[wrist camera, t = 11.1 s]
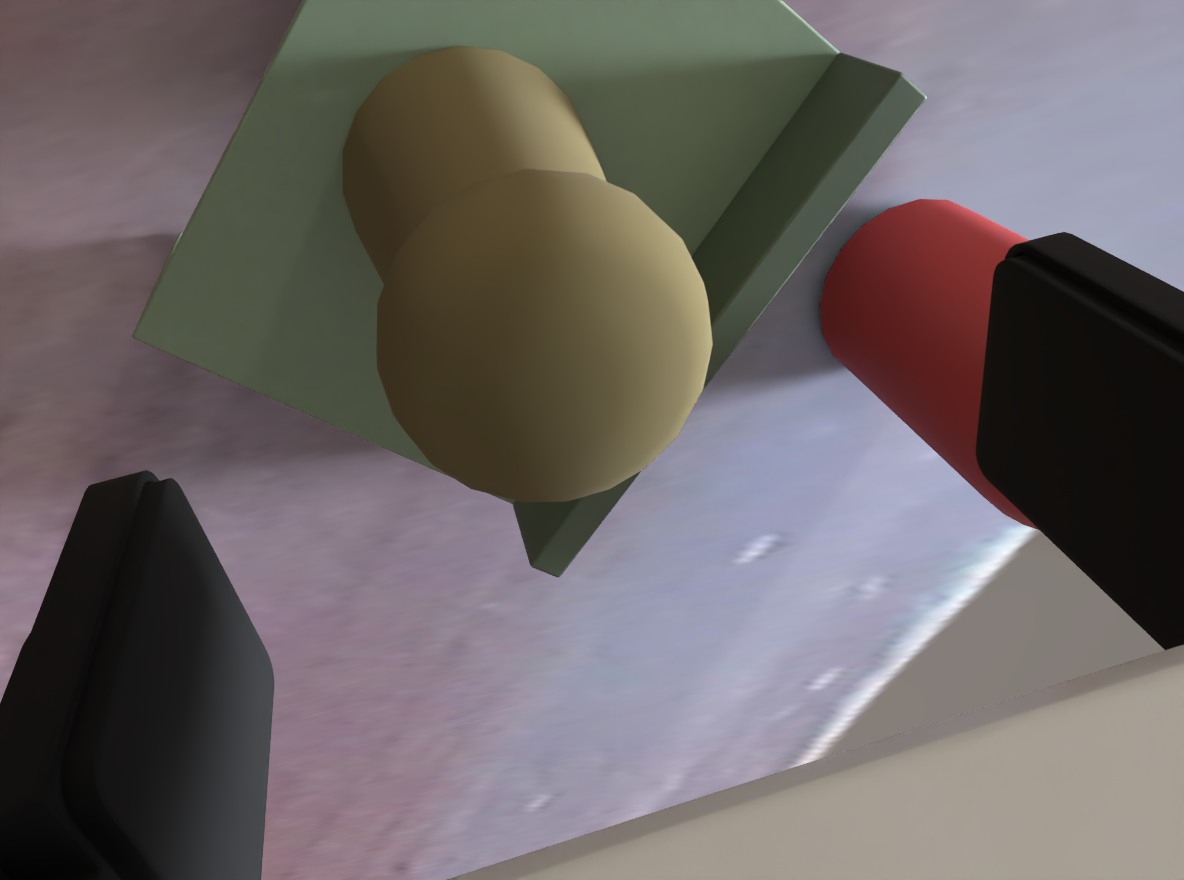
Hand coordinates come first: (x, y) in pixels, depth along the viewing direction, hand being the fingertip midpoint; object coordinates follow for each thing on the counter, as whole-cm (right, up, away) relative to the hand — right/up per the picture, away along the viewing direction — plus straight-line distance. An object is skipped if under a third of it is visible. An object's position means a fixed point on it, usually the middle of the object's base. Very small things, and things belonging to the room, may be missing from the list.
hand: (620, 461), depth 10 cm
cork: (-3, +7, +12) cm, 14 cm away
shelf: (-4, +9, +16) cm, 19 cm away
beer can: (+10, +6, +22) cm, 25 cm away
